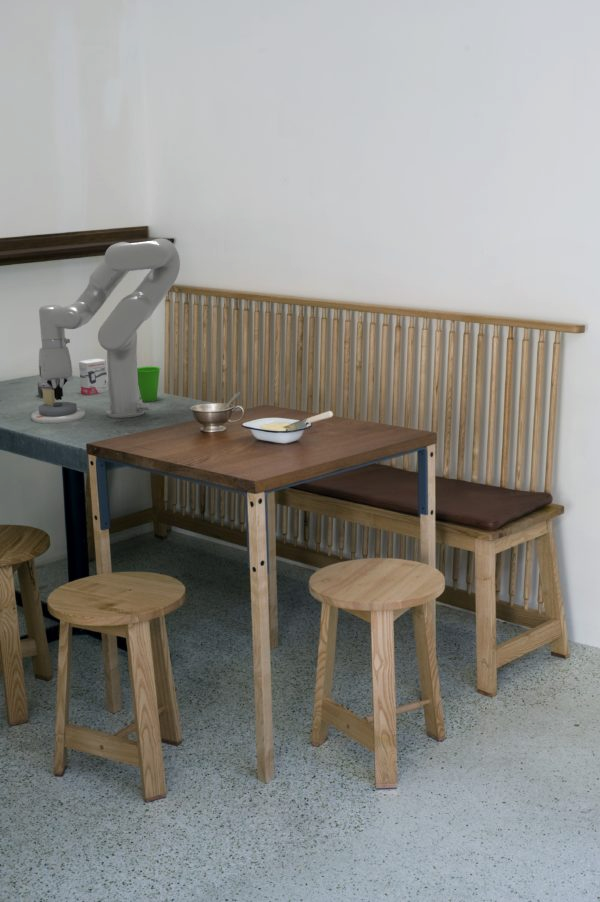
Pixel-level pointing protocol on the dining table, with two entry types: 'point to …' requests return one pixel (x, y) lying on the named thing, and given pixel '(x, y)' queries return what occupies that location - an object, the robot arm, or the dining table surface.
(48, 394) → the dial
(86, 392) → the ink box
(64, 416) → the plate
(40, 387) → the pumice stone
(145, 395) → the cup
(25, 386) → the dining table surface
